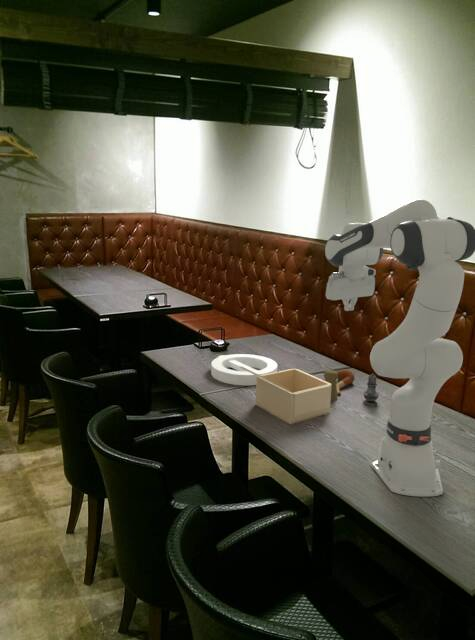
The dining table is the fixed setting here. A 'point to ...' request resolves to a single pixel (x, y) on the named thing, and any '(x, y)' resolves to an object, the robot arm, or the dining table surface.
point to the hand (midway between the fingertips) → (348, 310)
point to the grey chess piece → (371, 391)
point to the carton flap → (265, 379)
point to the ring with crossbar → (241, 375)
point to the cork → (332, 382)
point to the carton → (293, 395)
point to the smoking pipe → (344, 379)
